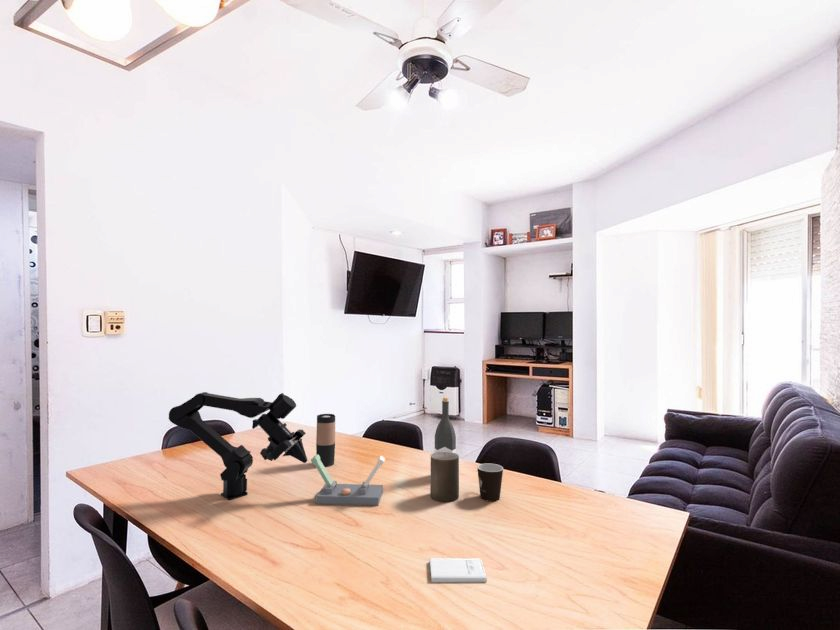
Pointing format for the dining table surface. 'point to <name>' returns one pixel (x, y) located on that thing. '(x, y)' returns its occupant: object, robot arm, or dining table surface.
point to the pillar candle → (444, 476)
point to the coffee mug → (490, 481)
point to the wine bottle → (445, 431)
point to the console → (350, 495)
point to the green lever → (323, 471)
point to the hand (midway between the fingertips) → (306, 462)
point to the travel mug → (326, 438)
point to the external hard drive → (457, 570)
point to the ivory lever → (373, 472)
